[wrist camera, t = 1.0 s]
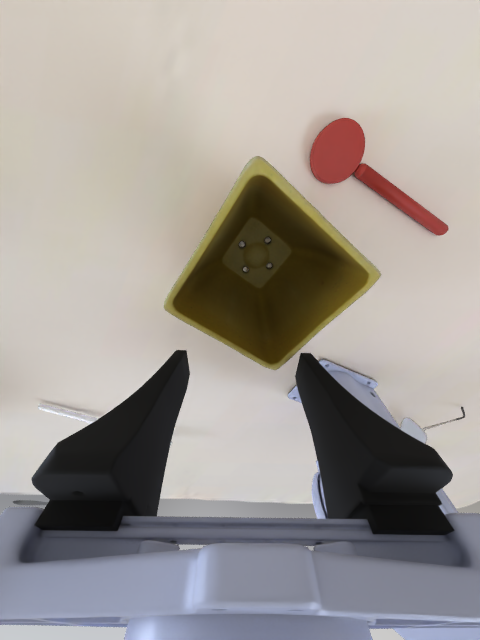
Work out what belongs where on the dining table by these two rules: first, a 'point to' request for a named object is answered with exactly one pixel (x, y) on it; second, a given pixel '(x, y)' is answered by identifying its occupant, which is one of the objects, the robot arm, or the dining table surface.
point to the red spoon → (361, 169)
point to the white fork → (68, 413)
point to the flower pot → (268, 271)
